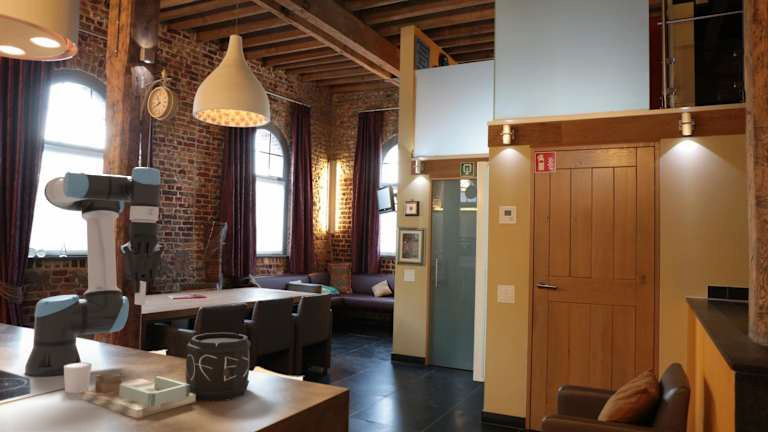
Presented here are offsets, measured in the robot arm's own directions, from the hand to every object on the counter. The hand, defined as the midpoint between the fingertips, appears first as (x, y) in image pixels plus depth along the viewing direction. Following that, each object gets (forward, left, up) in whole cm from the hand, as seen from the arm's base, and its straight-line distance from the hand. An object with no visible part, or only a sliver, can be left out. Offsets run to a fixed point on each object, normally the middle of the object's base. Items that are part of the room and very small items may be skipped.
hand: (139, 304), depth 155 cm
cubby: (+14, -4, -22) cm, 27 cm away
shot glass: (-13, -10, -25) cm, 29 cm away
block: (0, -8, -22) cm, 24 cm away
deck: (+8, -4, -24) cm, 26 cm away
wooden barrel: (+19, +13, -25) cm, 34 cm away
